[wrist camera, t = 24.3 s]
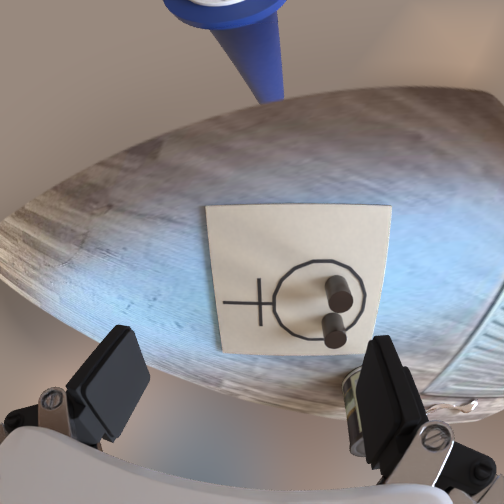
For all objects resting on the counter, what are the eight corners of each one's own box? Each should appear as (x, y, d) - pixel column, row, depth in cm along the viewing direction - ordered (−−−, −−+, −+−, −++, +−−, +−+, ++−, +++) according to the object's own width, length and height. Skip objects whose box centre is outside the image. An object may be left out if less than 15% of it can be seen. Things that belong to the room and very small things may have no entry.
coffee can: (365, 403, 45) (375, 460, 32) (330, 387, 44) (335, 451, 31) (404, 374, 42) (424, 431, 28) (371, 354, 40) (390, 419, 27)
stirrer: (420, 426, 42) (431, 414, 40) (416, 415, 46) (426, 403, 44) (473, 413, 42) (483, 401, 40) (468, 404, 45) (478, 392, 44)
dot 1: (325, 275, 36) (329, 291, 32) (348, 274, 35) (354, 290, 31) (323, 295, 37) (327, 313, 33) (345, 295, 36) (351, 313, 32)
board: (206, 205, 35) (204, 206, 34) (390, 205, 32) (392, 206, 31) (223, 350, 44) (222, 353, 43) (367, 351, 40) (368, 353, 40)
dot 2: (322, 312, 38) (325, 331, 34) (343, 312, 37) (348, 330, 33) (320, 330, 39) (322, 349, 35) (341, 329, 39) (345, 348, 34)
